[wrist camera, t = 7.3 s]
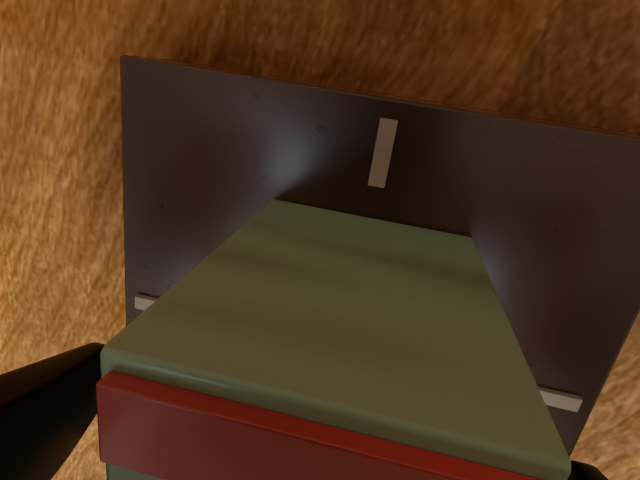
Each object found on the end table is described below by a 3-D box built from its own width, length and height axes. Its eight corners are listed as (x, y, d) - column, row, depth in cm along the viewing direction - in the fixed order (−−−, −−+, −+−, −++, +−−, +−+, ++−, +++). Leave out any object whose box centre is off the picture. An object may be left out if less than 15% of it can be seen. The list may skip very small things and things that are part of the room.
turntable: (658, 137, 10) (724, 151, 8) (501, 507, 14) (517, 576, 12) (165, 59, 11) (113, 53, 9) (161, 416, 16) (125, 465, 14)
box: (404, 474, 12) (403, 851, 6) (246, 432, 12) (106, 742, 6) (473, 236, 9) (589, 492, 3) (271, 197, 10) (77, 362, 4)
